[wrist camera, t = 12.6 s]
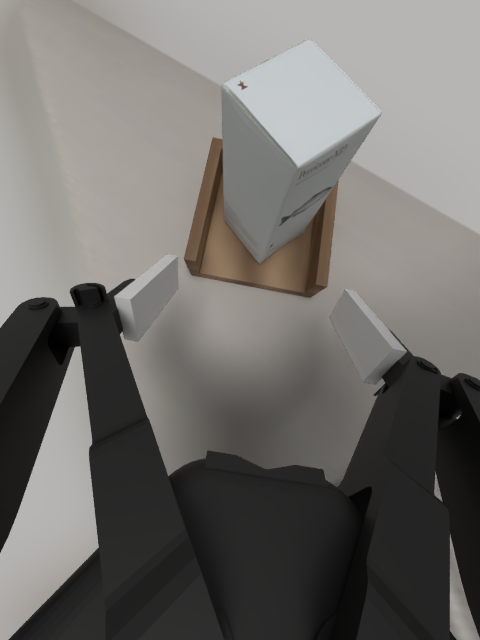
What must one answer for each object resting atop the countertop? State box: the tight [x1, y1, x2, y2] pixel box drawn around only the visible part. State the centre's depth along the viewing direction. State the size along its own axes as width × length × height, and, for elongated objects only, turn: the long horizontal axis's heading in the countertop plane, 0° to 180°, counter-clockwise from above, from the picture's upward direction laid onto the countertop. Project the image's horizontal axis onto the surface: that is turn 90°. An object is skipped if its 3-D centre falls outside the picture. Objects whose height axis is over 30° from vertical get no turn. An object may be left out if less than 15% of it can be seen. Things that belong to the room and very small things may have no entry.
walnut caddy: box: [184, 138, 338, 297], centre depth 23 cm, size 15×15×4 cm
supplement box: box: [222, 39, 382, 263], centre depth 18 cm, size 7×7×13 cm
